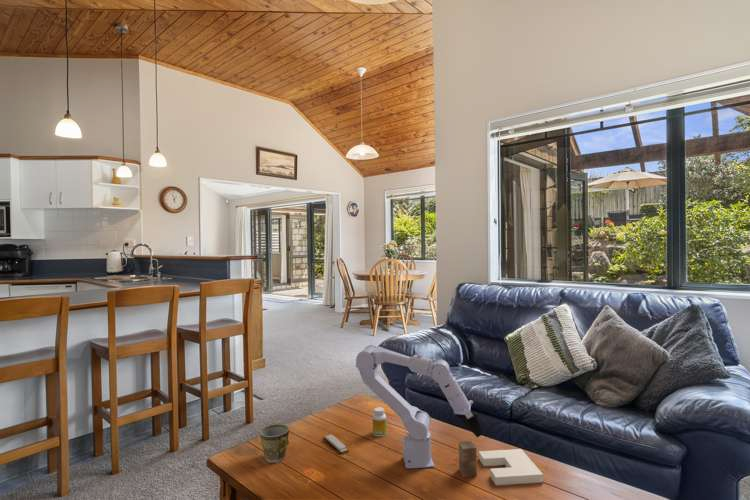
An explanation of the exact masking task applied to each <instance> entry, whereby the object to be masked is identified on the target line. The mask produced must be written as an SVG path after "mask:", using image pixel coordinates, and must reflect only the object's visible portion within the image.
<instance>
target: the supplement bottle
mask: <svg viewBox="0 0 750 500" xmlns="http://www.w3.org/2000/svg"><path fill="white" fill-rule="evenodd" d="M373 412H374V414H373V415H372V435H373V436H374V437H377V438H378V437H379V438H380V437H385V436H386V435H387V433H388V431H387V414H385V408H384V407H380V406H379V407H374V411H373Z"/></svg>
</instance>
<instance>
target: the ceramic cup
mask: <svg viewBox="0 0 750 500" xmlns="http://www.w3.org/2000/svg"><path fill="white" fill-rule="evenodd" d="M289 434H290V427H289V425H287V424H284V423H273V424H268V425H265V426H264V427H262V428H261V429H260V431H259V436H260V441H261V445H262V449H263V450H262V451H263V455H264V460H265V461H266V462H267V463H269V464H271V463H272V464H273V463H274V464H275V463H277V462H278V463H280V462H282V461H284V460H285V457H286V453H287V452H286V451H287V447H288V446H289V444H290V442H289Z"/></svg>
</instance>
